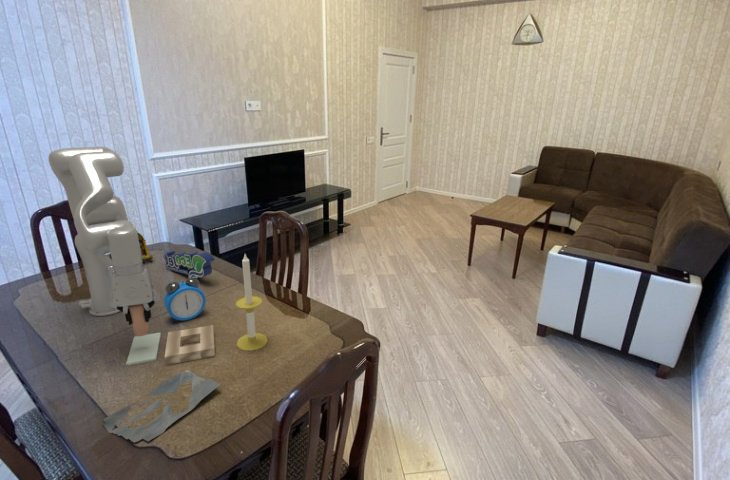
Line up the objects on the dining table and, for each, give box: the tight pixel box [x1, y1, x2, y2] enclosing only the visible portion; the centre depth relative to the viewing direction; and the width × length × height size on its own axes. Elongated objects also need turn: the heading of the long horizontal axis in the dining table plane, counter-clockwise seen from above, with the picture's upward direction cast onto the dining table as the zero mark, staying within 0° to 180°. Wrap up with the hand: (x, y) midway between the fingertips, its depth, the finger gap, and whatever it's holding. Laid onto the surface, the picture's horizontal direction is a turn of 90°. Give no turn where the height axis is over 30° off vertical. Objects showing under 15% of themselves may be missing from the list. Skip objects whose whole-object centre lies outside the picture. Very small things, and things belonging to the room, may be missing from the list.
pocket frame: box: [164, 324, 216, 366], centre depth 127 cm, size 14×14×3 cm
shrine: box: [137, 231, 154, 261], centre depth 189 cm, size 12×8×15 cm
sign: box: [163, 250, 215, 279], centre depth 174 cm, size 35×4×14 cm, turn 55°
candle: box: [235, 253, 269, 352], centre depth 126 cm, size 10×10×32 cm
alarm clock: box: [163, 277, 207, 323], centre depth 142 cm, size 13×6×15 cm, turn 128°
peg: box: [129, 304, 150, 337], centre depth 122 cm, size 4×4×10 cm
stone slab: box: [102, 369, 221, 443], centre depth 103 cm, size 24×16×2 cm, turn 148°
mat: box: [125, 332, 162, 367], centre depth 126 cm, size 8×15×1 cm, turn 21°
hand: (139, 320), depth 122 cm, fingers closed on peg, 4 cm apart
